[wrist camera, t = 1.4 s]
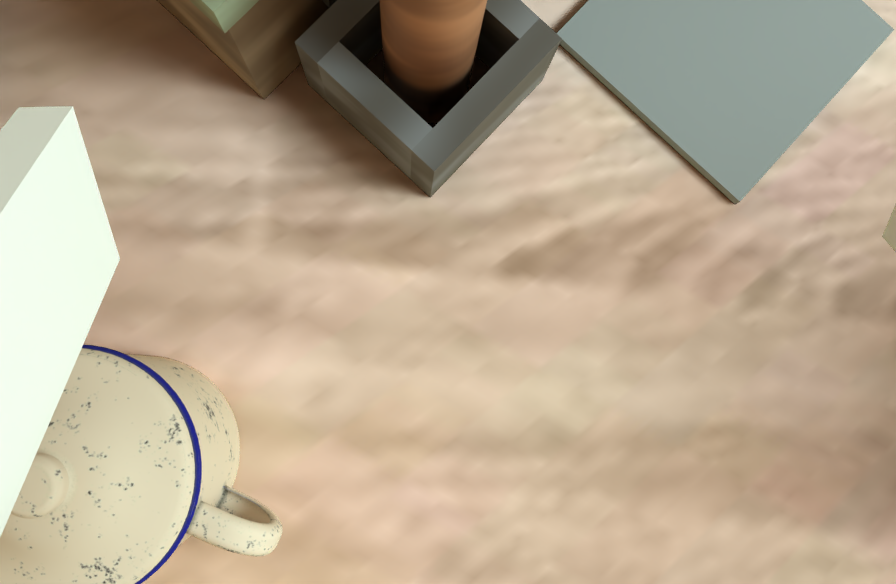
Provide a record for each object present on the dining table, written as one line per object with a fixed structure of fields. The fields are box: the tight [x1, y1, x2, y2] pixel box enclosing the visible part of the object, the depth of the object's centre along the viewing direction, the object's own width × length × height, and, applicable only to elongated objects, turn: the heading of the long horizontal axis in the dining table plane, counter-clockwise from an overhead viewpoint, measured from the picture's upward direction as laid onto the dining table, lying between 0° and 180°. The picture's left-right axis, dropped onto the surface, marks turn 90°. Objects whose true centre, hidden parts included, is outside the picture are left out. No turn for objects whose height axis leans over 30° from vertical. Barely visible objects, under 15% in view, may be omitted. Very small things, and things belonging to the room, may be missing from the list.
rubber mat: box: [557, 0, 894, 204], centre depth 40 cm, size 12×12×1 cm
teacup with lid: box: [0, 345, 282, 584], centre depth 31 cm, size 12×9×12 cm
